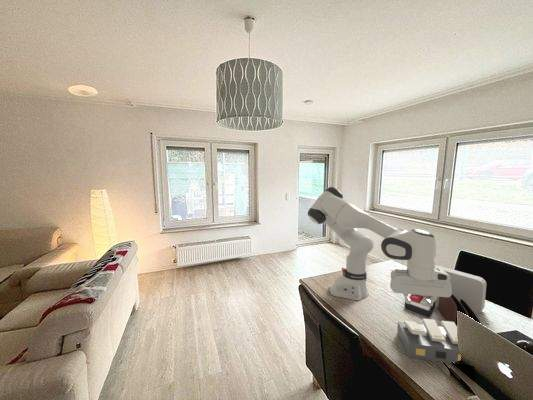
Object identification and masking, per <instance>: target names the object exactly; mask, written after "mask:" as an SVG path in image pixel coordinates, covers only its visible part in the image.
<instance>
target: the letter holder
mask: <svg viewBox="0 0 533 400" xmlns="http://www.w3.org/2000/svg"><path fill="white" fill-rule="evenodd" d="M437 310H438V312H439V313H440V314H441V316H442V318H443V321H450V322H454V323H455V325H456V326H457V311H460V312H462V313H464V314H466V315H468V316H469V317H471V318H473V319H474V320H475V321H477V322H479V323H481V324H482V322H481V320H480V318H479V317H478V316H477V313H474V312H473V310H472V309H471V308H470V307H469V306H468V304H467V303H466V302H465V301H463V300H462V299H461V300H460V301H459V300H458V299H457V298H456V297H455V296H454V295H453V294H452V295H451V296H450V297H439V299H438V305H437Z"/></svg>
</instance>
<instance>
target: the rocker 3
mask: <svg viewBox="0 0 533 400" xmlns="http://www.w3.org/2000/svg"><path fill="white" fill-rule="evenodd" d="M440 325H441V327H443V328H444V330H445V331H446V333H447V335H448V336H449V338H450V340H451V342H452V343H453V344H458V338H457V326H456V325H455V323H454V322H450V321H445V320H441V322H440Z"/></svg>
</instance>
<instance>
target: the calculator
mask: <svg viewBox="0 0 533 400" xmlns="http://www.w3.org/2000/svg"><path fill="white" fill-rule="evenodd" d="M408 298H410V300H411V304H406V302H405V301H404V309H405V310H407V311H410V312H412V313H414V314H415V313H416V314H418V315H421V316H423V317H426V318H427V319H429V318H430V317H431V314H432V312H433V311H434V309H435V306H436V300H435V301H434V302H433V306H428V305H427V300H429V299H430V298H431V297H427V296H424V295H415V294H410V296H408Z"/></svg>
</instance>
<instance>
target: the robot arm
mask: <svg viewBox="0 0 533 400" xmlns="http://www.w3.org/2000/svg"><path fill="white" fill-rule="evenodd" d="M307 216H308V218H309V219H310V221H311V222H312V223H314V224H317V225H321V224H323V223H324V224H325V225H327V226H328V227H329V228H330V230H332V231H333V232H334V233H335V234H336V235H337V236H338V238H339V239H341V240H342V241H343V242H344V243H345V244H346V245H347V246H349V253H348V255H346V257H345V258H346V259H345V261H346V263H345V264H346V267H343V266H342V267H341V272H342V274H339V275H338V276H337V277H335V278H334V280H333V283H331V284H329V292H331V293H330V294H331V295H332V296H333V297H339V298H343V299H347V300H348V299H349V300H354V301H361V300H362V299H365V298H367V297H368V296H369V292H368V288H367V277H368V276H367V273H368V272H367V270H366V269H367V268H366V267H367V257H368V255H369V253H370V252H372V250H373V249H374V241H373V240H372V238H370V236H369V235H368V234H366V233H364V232H362V231H361V230H359V229H366V230H369V231H372V232H373V233H375V234H376V235H378V236H380V237H382V238H384V239H382V241H381V244H380V247H381V252H382V253H383V254H384V256H386V257H387V258H389V259H392V260H399V261H406V262H407V265H406V269H398V268H397V269H394V270H392V271H391V272H390V282H389V283H390V284H389V287H390V289H391V291H392V292H393V293H395V294H402V296H403V297H404V303H405V302H406V304H411V300H410V298H409V295H411V294H415V295H421V296H425V297H427V296H428V297H429V298H430V299H429V300H427V305H428V306H433V302H434V301H436V300H438V299H437V297H450V296H451V295H452V286H451V283H450V281H449V280H450V276H449V275H448V274H447V273H446V272H445V271H444V270H442V269H440V268H438V267H435V265H436V263H435V258H436V256H437V243H436V241H437V240H436V237H435V235H434V234H433V233H432V232H430V231H428V230H425V229H419V228H412V229H409V230H407V229H403V228H398V227H394V226H392V225H391V224H388V223H387V222H385V221H382V220H381V219H379V218H378V217H374V216H373V215H371V214H369V213H367V212H365V211H364V210H362V209H361V208H359V207H358V206H356V205H354V204H353V203H351V202H349V201H347V200H345V199H344V195H343V193H342V191H340V190H339V189H338V188H335V187H334V186H333V187H332V186H329V187H327V188H326V189H325V190H324V192H322V193H321V194H320V195H319V196H318V197H317V199H316V200H315V201H314V203H313V204H312V206H311V207H310V208H309V209H308V212H307Z"/></svg>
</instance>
